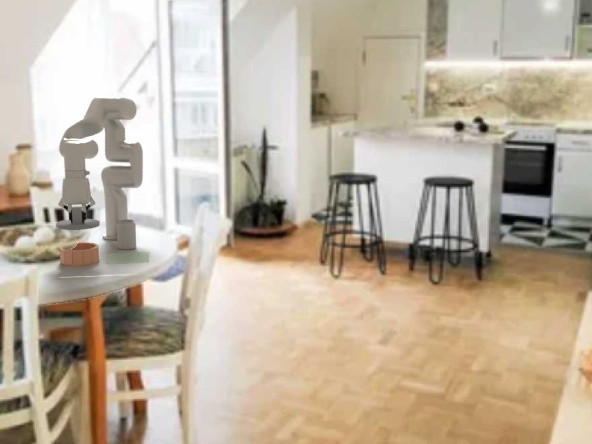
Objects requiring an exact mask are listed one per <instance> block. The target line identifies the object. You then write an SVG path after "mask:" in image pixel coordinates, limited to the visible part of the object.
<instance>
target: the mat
mask: <svg viewBox="0 0 592 444" xmlns="http://www.w3.org/2000/svg"><path fill="white" fill-rule="evenodd" d="M149 262H150V251H140V252H136V251H135V252H134V251H133V252H109V253H108V254H107V257H106V262H105V265H110V264H111V265H112V264H115V265H116V264H135V263H136V264H138V263H139V264H142V263H144V264H145V263H149Z"/></svg>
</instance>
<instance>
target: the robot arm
mask: <svg viewBox="0 0 592 444" xmlns="http://www.w3.org/2000/svg"><path fill="white" fill-rule="evenodd" d="M137 111H138V110H137V105H136V103H135V101H134V100H132V99H130V98H127V97H122V96H114V95H113V96H111V95H109V96H108V95H107V96H106V95H105V96H104V95H103V96H102V95H101V96H96V97H94V98H93V99H92V100H91V101H90V103H89V105H88V108H87V111H86V112H85V115H84V117H83V119H80V120H79V121H77V122H75V123H74V124H73V125H71V126H70V127H68V128H67V129H66V130H65V131H64V133H63V136H62V137H61V139H60V142H59V145H58V148H59V149H58V152H59V154H60V155H61V157H63V163H64V177H63V178H62V187H61V189H62V190H61V192H62V194H61V198H60V200H59V202H58V204H57V205H58V206H59V207H61V208H63V209H64V210H65V211H66V212H67V213H68V220H69V221H71V223H73V222H72V207H73V205H77V206H78V205H81V207H82V222H83V223H84V222H85V220H86V219H87V211H88V210H90V208H92V207H94V206H95V205H96V202H95V200H94V199H93V197H92V194H91V193H92V192H91V185H90V180H89V177H88V176H89V175H90V174H91V172H90V170H87V169H86V160H89V159H90V160H91V159H94V158H95V157H96V156H97V155H98V153H99V145H98V143H97V141H95V140H94V139H90V138H89V137H91V136H95V135H98V134H100V133H101V132H103V131H104V155H105V159H106V160H107V161H108V162H110V163H120V164H121V163H125V164H126V163H127V164H128V163H129V165H107V166H105V167H103V168H102V170H101V173H100V176H101V183H102V187H103V195H104V196H103V197H104V213H105V215H104V216H105V233H103V234H102V238H103V239H104V240H110V241H118V240H117V224H118V223H119V222H118V221H119V220H125V219H129V218H128V217H129V216H128V215H129V214H128V213H129V212H128V197H127V194H126V192H125V191H124V190H123V189H138V188H139V187H141V186H142V184H143V178H144V177H143V176H144V171H143V169H144V168H143V167H144V164H143V163H144V161H143V160H144V156H143V155H144V152H143V151H144V150H143V147H142V145H141V142H140V141H137V140H126V128H125V126H124V124H123V123H122V120H123V121H127V120H128V121H131V120H133V119H134V118H135V117H136V115H137ZM87 175H88V176H87Z"/></svg>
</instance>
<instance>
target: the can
mask: <svg viewBox="0 0 592 444" xmlns="http://www.w3.org/2000/svg"><path fill="white" fill-rule="evenodd" d="M134 221H135V220H133V219H129V218H128V219H125V220H119V221H118V222H119V223H118V224H117V240H116V241H117V248H118V249H119V250H122V251H129V250H134V249H136V248H137V229H136V228H137V227H136V223H135V222H134Z"/></svg>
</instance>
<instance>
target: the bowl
mask: <svg viewBox="0 0 592 444" xmlns="http://www.w3.org/2000/svg"><path fill="white" fill-rule="evenodd" d="M99 251H100V250H99V244H98V243H94V242H87V241H80V242H79V243H78V244H77V246H76V247H75V248H73V249H72V250H65V249H64V248H63V246H62V245H60V247H59V260H60V261H59V262H60V264H61V265H62V266H72V267H73V266H75V267H77V266H87V265H88V266H89V265H92V264H95V263H98V262H99V259H100V252H99Z"/></svg>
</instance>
